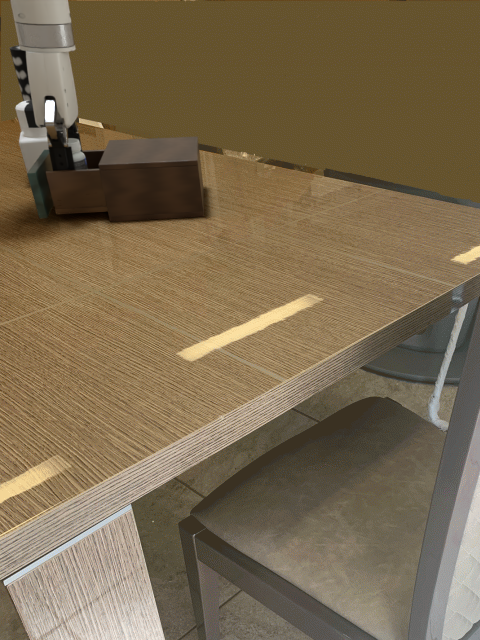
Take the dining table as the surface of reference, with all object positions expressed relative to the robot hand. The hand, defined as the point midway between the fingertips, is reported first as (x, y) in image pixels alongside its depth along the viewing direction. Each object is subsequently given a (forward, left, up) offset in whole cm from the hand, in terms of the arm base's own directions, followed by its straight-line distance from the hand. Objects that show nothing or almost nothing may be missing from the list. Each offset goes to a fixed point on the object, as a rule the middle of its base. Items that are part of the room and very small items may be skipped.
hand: (69, 166), depth 101 cm
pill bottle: (0, 0, -5) cm, 5 cm away
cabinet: (+13, 0, -7) cm, 15 cm away
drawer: (+1, 0, -6) cm, 6 cm away
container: (-7, +17, -7) cm, 20 cm away
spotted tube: (-7, +27, -7) cm, 29 cm away
